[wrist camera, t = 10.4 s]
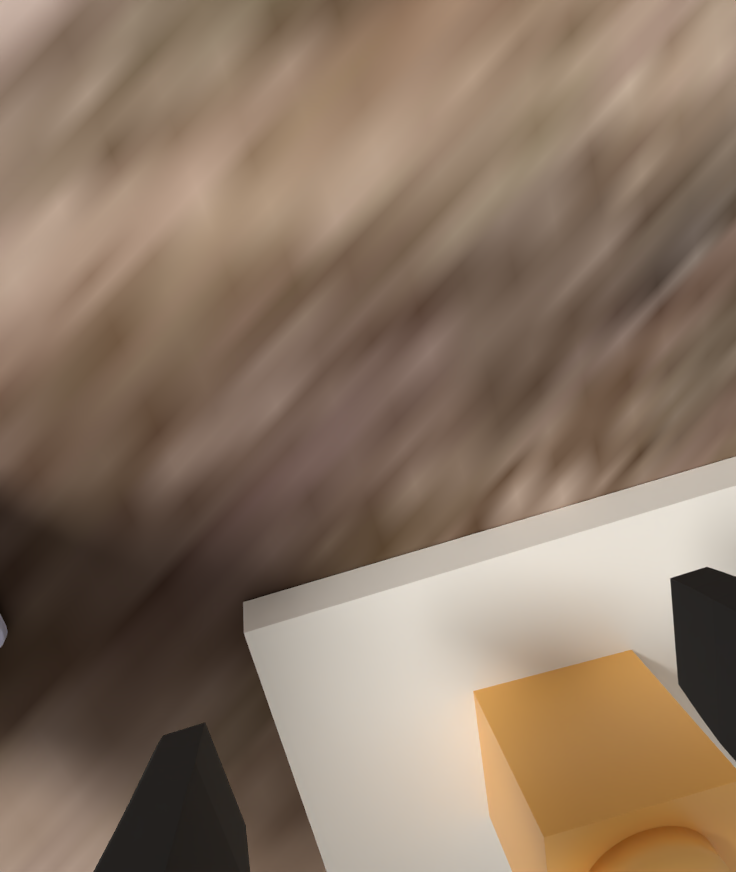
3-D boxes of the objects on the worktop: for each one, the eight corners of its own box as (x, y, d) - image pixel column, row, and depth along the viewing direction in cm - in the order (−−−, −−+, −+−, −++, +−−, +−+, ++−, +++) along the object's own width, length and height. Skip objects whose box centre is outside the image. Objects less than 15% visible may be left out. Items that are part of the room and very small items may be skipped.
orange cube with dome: (489, 816, 22) (571, 1016, 17) (473, 691, 20) (559, 869, 15) (635, 774, 23) (760, 955, 17) (631, 649, 21) (769, 806, 16)
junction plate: (353, 926, 25) (381, 1096, 20) (243, 602, 20) (245, 726, 15) (761, 786, 26) (875, 913, 22) (754, 451, 21) (899, 522, 17)
